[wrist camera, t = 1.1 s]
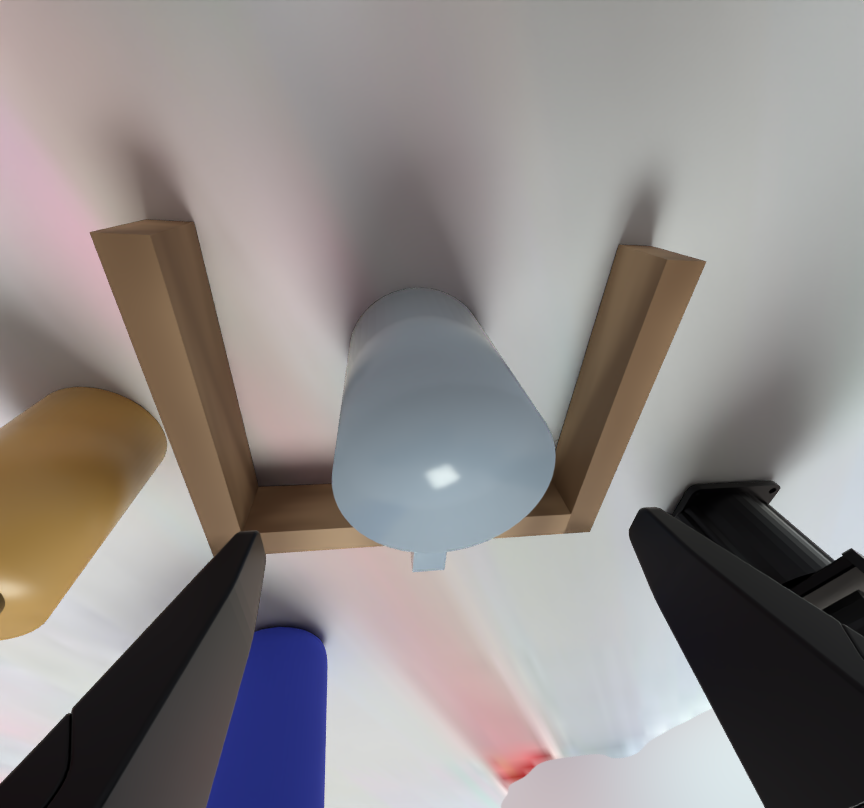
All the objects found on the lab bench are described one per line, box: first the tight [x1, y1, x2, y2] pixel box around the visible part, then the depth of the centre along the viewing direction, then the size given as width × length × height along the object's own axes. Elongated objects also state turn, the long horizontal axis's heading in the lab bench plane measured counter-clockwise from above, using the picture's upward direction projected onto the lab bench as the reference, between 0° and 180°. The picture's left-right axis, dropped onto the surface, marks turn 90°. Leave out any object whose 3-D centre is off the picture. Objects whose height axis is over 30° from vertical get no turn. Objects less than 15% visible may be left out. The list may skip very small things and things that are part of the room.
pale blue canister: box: [332, 288, 556, 572], centre depth 14 cm, size 6×9×8 cm
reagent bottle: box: [0, 387, 167, 640], centre depth 13 cm, size 5×5×9 cm
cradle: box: [90, 219, 706, 556], centre depth 16 cm, size 19×14×3 cm
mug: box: [206, 627, 327, 808], centre depth 24 cm, size 8×12×10 cm
